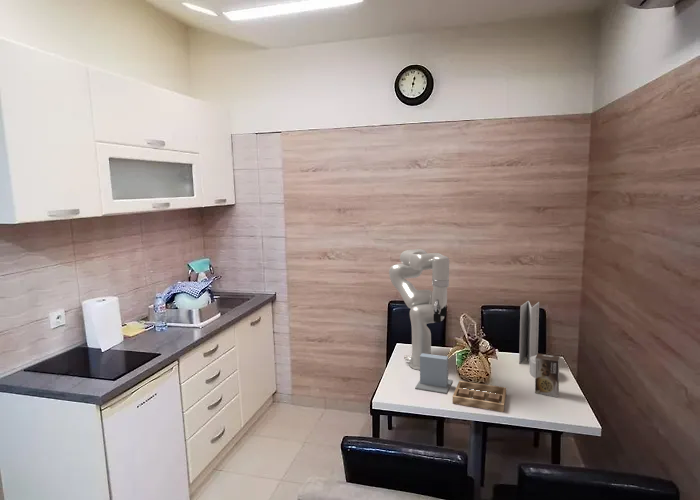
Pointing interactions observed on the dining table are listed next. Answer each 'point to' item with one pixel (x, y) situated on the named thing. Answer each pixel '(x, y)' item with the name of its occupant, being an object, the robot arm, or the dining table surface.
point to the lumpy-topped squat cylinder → (533, 365)
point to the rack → (480, 403)
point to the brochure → (528, 331)
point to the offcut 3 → (494, 398)
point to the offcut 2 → (479, 395)
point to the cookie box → (547, 375)
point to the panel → (434, 370)
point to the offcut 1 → (464, 393)
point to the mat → (434, 387)
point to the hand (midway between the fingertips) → (439, 319)
